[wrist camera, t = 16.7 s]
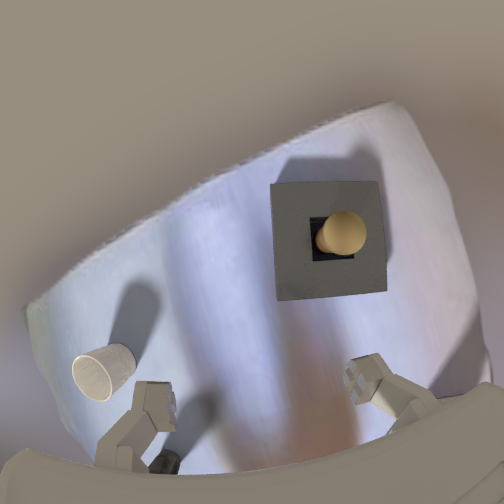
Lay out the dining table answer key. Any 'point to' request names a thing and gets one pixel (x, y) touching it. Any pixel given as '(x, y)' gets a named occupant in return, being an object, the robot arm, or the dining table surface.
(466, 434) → the robot arm
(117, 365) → the white cup
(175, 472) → the beverage cup
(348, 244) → the brass pin
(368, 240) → the hitch block
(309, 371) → the dining table surface
